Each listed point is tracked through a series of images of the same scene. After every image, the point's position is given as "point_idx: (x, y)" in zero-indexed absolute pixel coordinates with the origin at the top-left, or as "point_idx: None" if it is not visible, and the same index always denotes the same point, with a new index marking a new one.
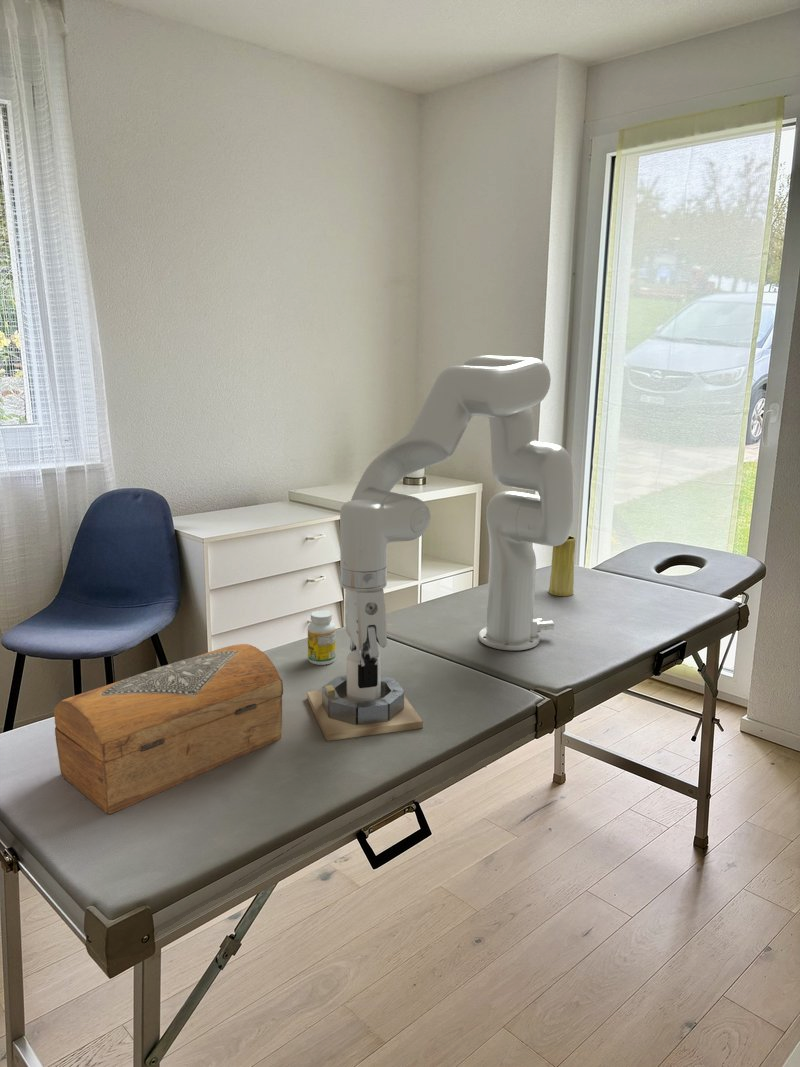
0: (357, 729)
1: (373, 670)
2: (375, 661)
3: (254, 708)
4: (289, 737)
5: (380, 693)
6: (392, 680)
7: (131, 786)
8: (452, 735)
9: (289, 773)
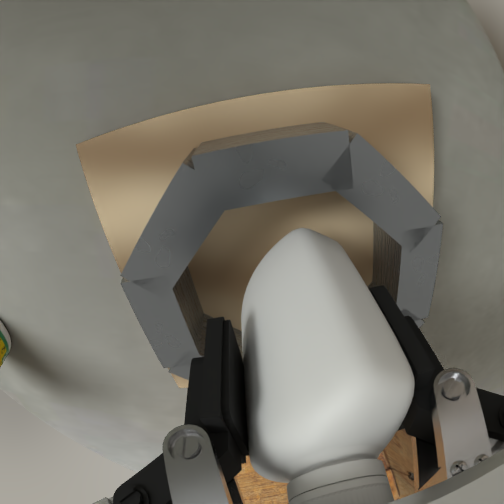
0: None
1: (435, 360)
2: (499, 397)
3: (408, 471)
4: None
5: (312, 233)
6: (206, 173)
7: None
8: (457, 22)
9: (463, 363)
